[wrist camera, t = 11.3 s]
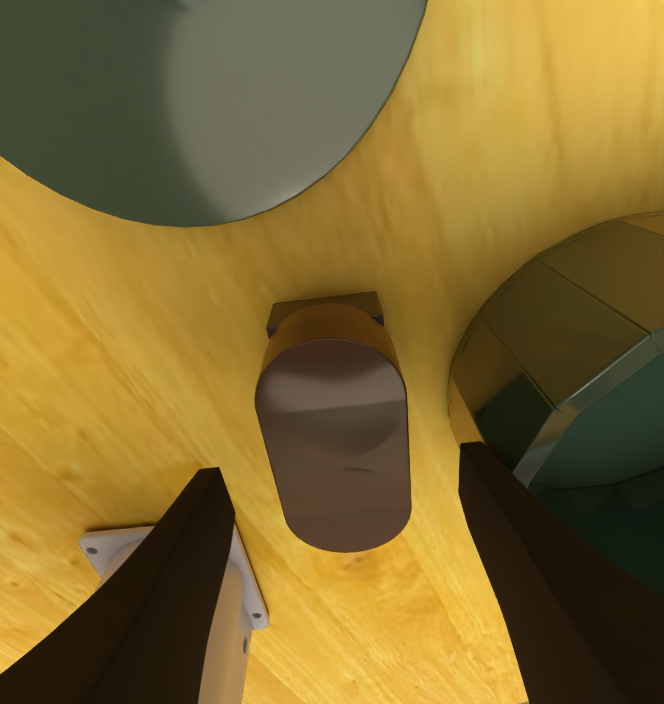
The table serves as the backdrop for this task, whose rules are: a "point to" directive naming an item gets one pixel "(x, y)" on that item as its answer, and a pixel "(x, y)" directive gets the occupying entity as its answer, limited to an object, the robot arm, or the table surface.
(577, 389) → the pot
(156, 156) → the lid
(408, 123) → the table surface
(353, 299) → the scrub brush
